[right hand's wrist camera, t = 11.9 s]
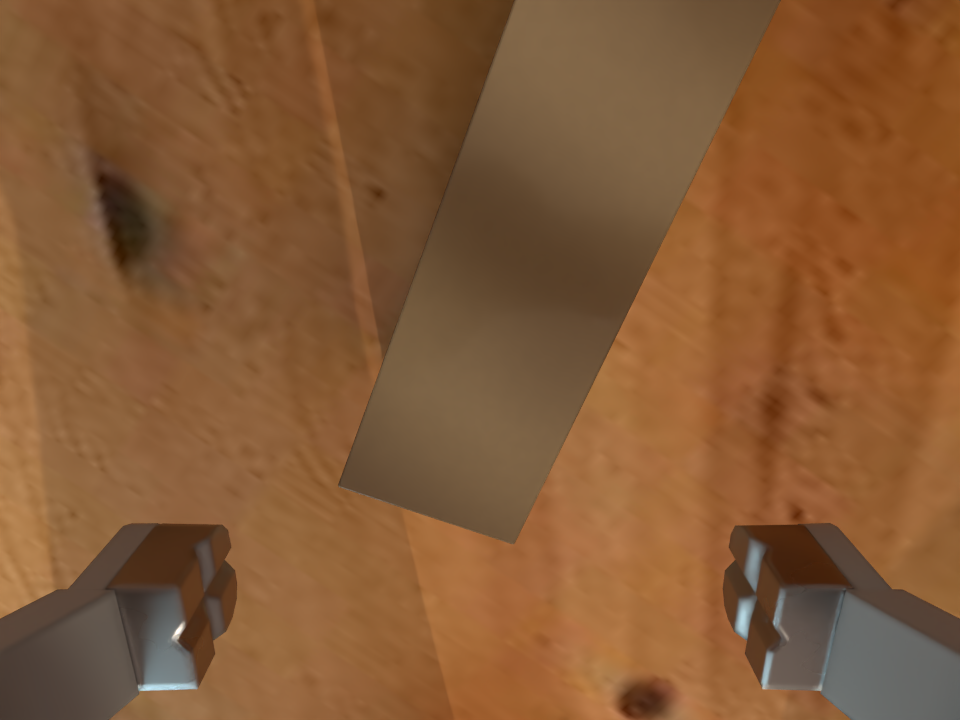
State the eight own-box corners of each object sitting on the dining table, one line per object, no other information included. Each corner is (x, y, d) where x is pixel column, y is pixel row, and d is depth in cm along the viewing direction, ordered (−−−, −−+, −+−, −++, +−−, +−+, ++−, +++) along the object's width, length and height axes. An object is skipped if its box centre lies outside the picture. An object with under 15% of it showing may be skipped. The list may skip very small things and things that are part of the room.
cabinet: (548, -88, 22) (597, -230, 13) (693, -20, 23) (836, -110, 14) (383, 365, 28) (336, 487, 19) (503, 408, 29) (514, 546, 20)
